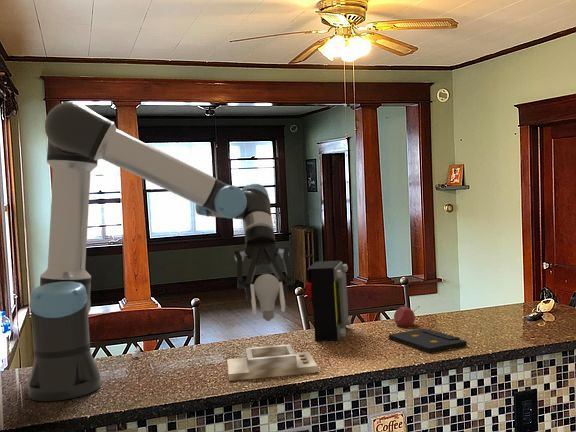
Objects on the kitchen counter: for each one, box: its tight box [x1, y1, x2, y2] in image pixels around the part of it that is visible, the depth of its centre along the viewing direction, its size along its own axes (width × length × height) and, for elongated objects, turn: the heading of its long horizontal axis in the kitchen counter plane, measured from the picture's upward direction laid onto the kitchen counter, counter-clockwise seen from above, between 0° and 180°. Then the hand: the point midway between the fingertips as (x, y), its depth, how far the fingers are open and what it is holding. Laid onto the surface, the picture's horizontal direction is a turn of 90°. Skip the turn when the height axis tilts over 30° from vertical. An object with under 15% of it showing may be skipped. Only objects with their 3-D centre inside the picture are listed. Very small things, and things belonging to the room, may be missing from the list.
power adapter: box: [131, 346, 142, 359], centre depth 160 cm, size 3×3×3 cm
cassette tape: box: [388, 328, 468, 354], centre depth 157 cm, size 18×12×2 cm, turn 23°
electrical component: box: [304, 260, 352, 342], centre depth 173 cm, size 18×10×20 cm, turn 168°
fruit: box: [393, 306, 420, 328], centre depth 179 cm, size 6×6×8 cm
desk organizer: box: [226, 344, 319, 382], centre depth 141 cm, size 20×13×4 cm, turn 97°
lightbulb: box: [253, 273, 280, 322], centre depth 141 cm, size 6×6×11 cm
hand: (269, 309), depth 137 cm, fingers closed on lightbulb, 6 cm apart
